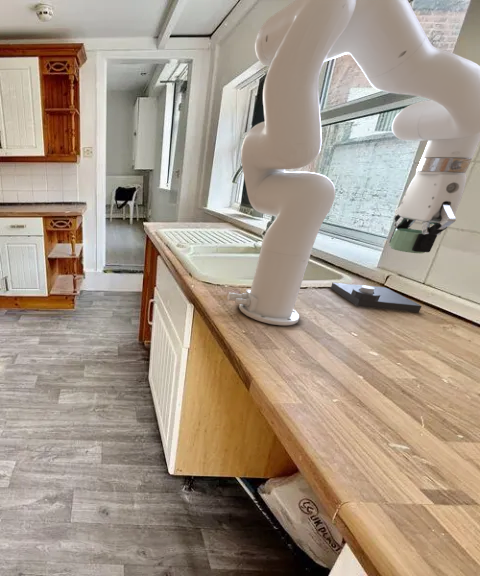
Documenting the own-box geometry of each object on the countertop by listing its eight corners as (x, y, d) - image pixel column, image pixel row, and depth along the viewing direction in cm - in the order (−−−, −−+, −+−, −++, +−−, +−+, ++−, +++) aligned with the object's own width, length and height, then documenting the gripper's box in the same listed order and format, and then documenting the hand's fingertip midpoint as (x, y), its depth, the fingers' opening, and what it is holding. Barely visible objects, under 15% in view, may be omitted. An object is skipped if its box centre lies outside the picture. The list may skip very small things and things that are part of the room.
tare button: (363, 294, 79) (365, 288, 78) (357, 290, 81) (359, 284, 80) (374, 295, 78) (377, 289, 78) (368, 291, 81) (370, 285, 80)
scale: (356, 306, 79) (361, 294, 77) (329, 288, 91) (333, 277, 90) (419, 313, 77) (425, 300, 75) (383, 293, 89) (387, 282, 87)
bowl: (401, 252, 71) (409, 232, 69) (381, 245, 77) (388, 227, 75) (435, 255, 70) (444, 235, 68) (412, 248, 76) (420, 229, 74)
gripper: (503, 168, 58) (458, 258, 65) (429, 168, 74) (400, 240, 80) (456, 167, 59) (417, 255, 66) (394, 167, 75) (368, 238, 82)
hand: (408, 247), depth 73 cm, fingers closed on bowl, 6 cm apart
